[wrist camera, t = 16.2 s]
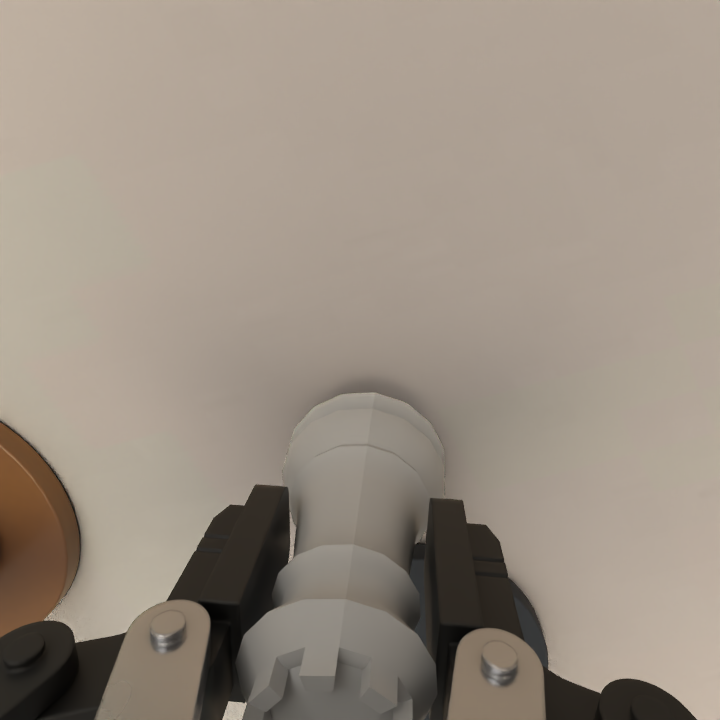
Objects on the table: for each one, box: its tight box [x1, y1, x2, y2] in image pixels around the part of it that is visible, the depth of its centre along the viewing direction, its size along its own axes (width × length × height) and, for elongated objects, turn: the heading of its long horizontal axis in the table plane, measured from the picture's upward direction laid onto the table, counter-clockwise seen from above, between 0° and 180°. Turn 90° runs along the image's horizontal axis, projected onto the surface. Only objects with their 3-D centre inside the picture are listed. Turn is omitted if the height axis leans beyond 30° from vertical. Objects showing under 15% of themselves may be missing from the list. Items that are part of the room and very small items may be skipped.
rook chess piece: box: [235, 392, 445, 720], centre depth 11 cm, size 4×4×8 cm
